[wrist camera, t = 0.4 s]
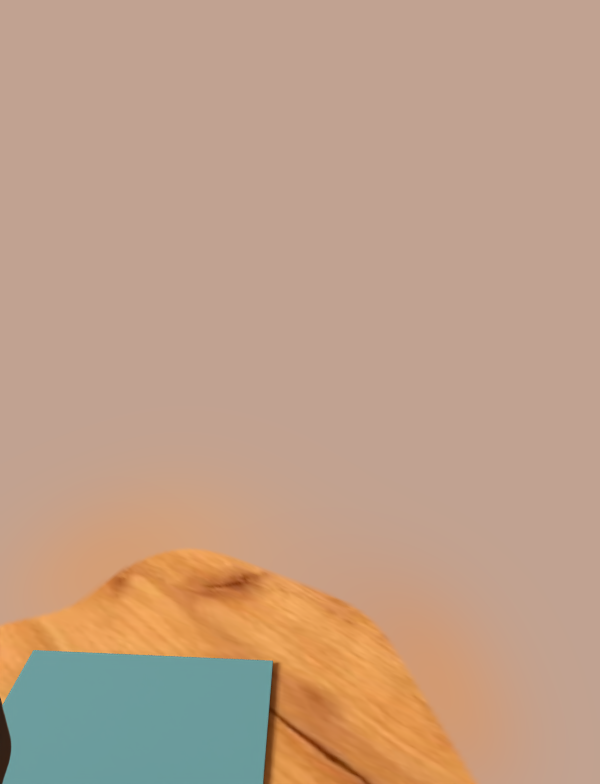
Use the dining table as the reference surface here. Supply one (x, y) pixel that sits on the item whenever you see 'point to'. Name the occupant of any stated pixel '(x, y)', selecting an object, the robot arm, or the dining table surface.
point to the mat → (138, 719)
